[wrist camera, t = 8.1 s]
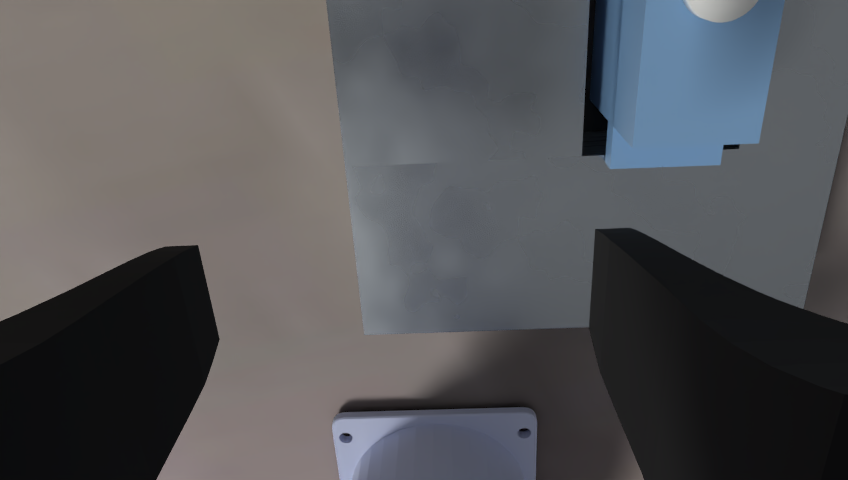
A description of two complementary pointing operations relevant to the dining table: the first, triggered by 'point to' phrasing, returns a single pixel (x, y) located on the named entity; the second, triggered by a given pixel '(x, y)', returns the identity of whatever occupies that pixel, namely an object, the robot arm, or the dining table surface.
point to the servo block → (681, 77)
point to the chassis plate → (555, 164)
